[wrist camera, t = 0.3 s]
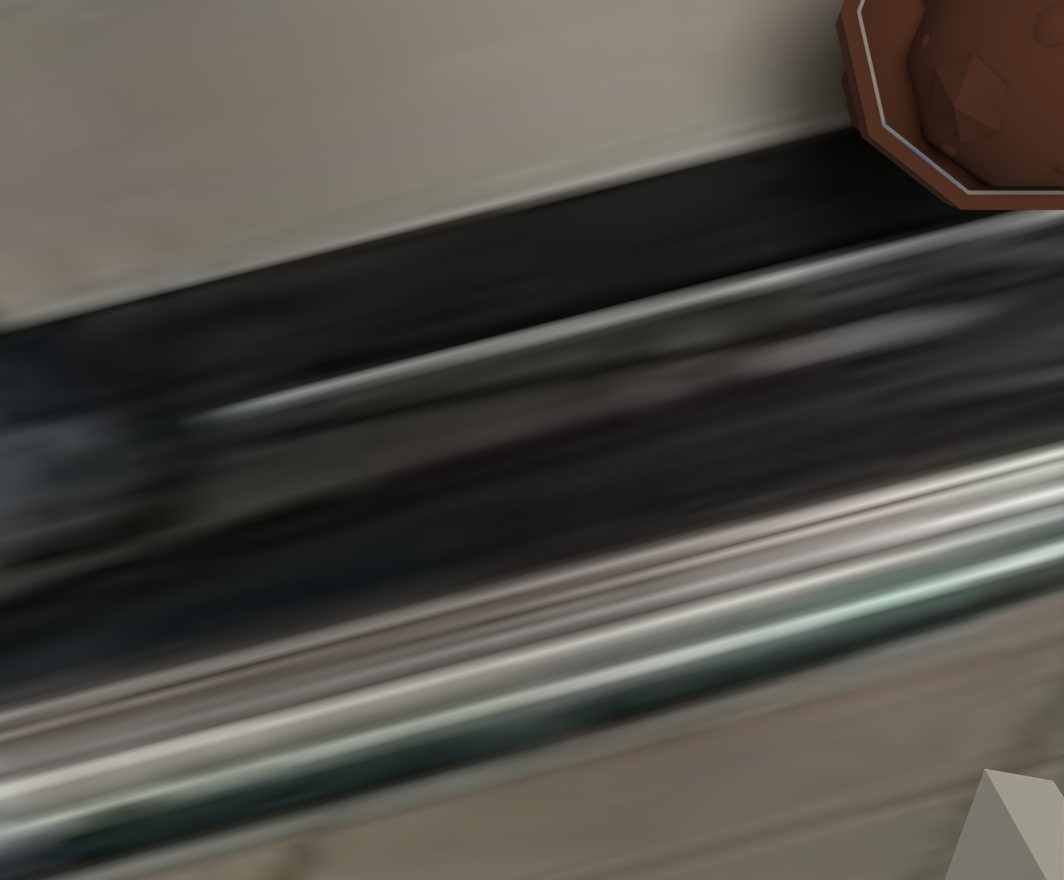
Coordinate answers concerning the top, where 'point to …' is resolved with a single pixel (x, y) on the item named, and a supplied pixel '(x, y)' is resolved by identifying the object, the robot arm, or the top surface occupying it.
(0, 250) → the top surface
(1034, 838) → the robot arm
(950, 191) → the chocolate ice cream sundae
